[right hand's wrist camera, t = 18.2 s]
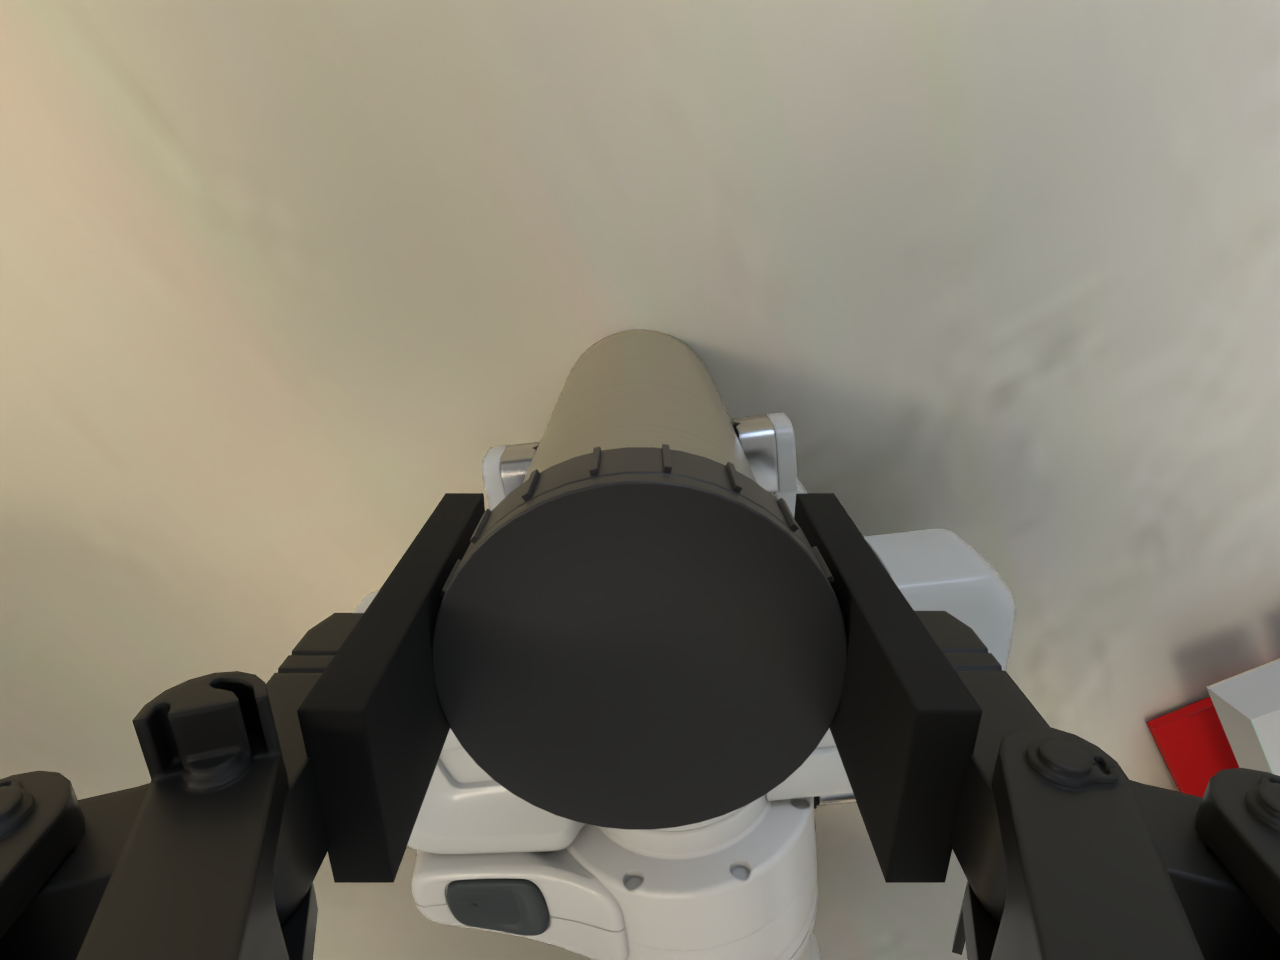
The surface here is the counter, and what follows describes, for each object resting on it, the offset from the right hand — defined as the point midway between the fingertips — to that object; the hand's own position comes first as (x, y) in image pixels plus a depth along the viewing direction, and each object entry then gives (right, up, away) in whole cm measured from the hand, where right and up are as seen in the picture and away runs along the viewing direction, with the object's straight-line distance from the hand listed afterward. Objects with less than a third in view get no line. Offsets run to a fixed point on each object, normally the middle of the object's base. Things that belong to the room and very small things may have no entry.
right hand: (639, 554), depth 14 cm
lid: (0, -1, -3) cm, 4 cm away
